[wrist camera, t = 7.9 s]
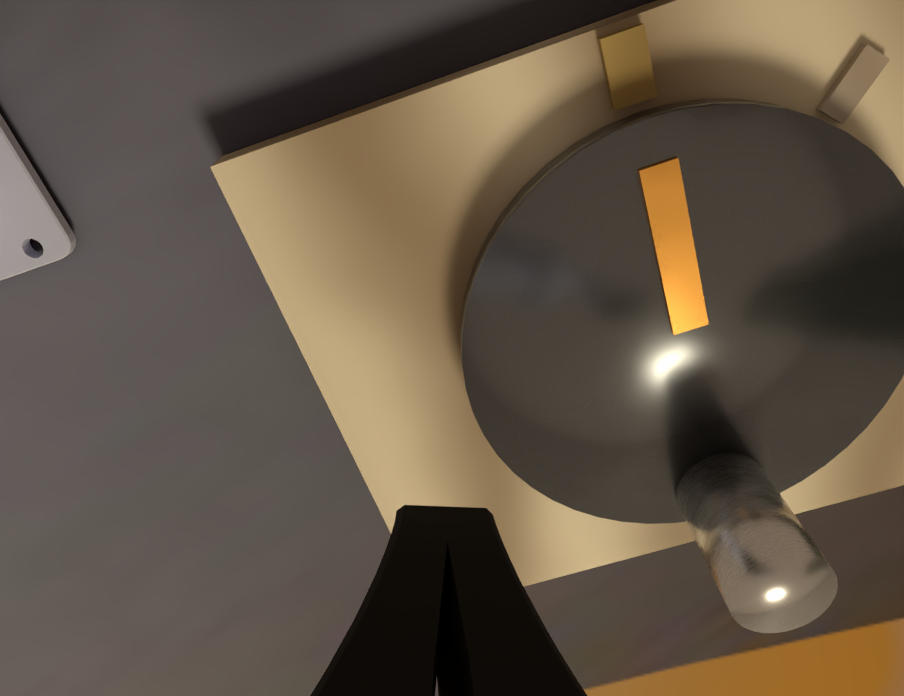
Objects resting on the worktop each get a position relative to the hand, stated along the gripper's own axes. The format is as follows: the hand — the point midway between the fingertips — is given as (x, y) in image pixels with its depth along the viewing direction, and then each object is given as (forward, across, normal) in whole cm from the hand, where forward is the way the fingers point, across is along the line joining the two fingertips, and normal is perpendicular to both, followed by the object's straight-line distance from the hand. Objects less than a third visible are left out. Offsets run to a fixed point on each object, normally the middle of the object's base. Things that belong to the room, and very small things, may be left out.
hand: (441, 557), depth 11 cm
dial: (+9, -7, 0) cm, 11 cm away
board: (+10, -6, 0) cm, 12 cm away
